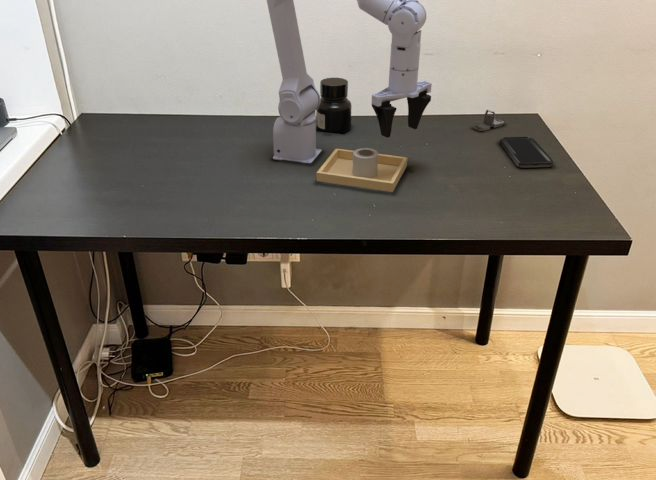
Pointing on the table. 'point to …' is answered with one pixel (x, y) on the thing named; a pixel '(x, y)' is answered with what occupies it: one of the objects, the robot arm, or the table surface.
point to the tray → (341, 170)
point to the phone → (525, 152)
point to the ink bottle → (333, 106)
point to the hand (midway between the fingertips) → (399, 131)
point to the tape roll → (365, 163)
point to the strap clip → (489, 122)
